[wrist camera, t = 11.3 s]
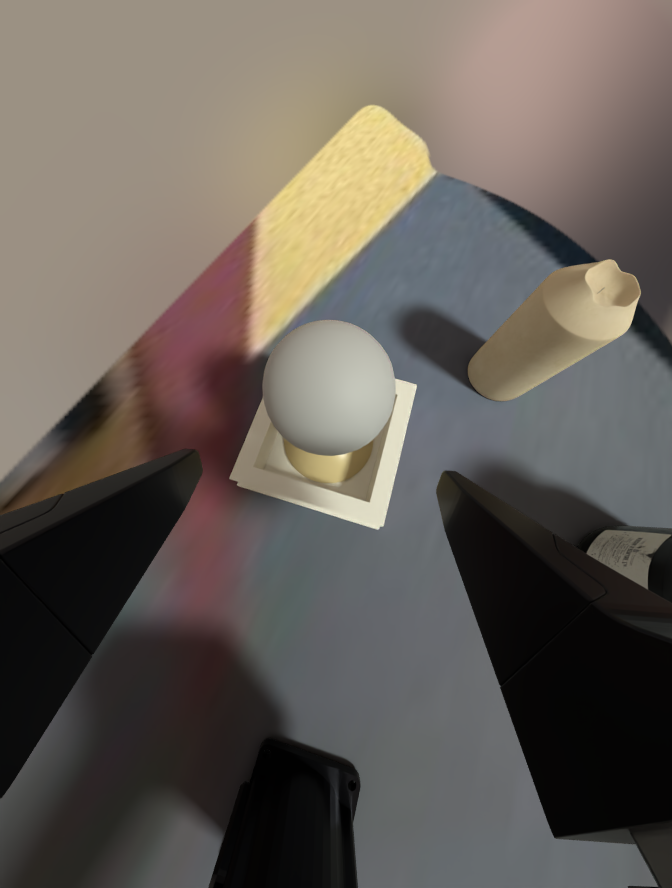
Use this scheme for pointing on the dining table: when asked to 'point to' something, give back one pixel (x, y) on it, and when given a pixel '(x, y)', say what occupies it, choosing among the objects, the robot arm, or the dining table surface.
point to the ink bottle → (635, 554)
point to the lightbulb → (329, 387)
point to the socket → (327, 467)
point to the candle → (555, 328)
